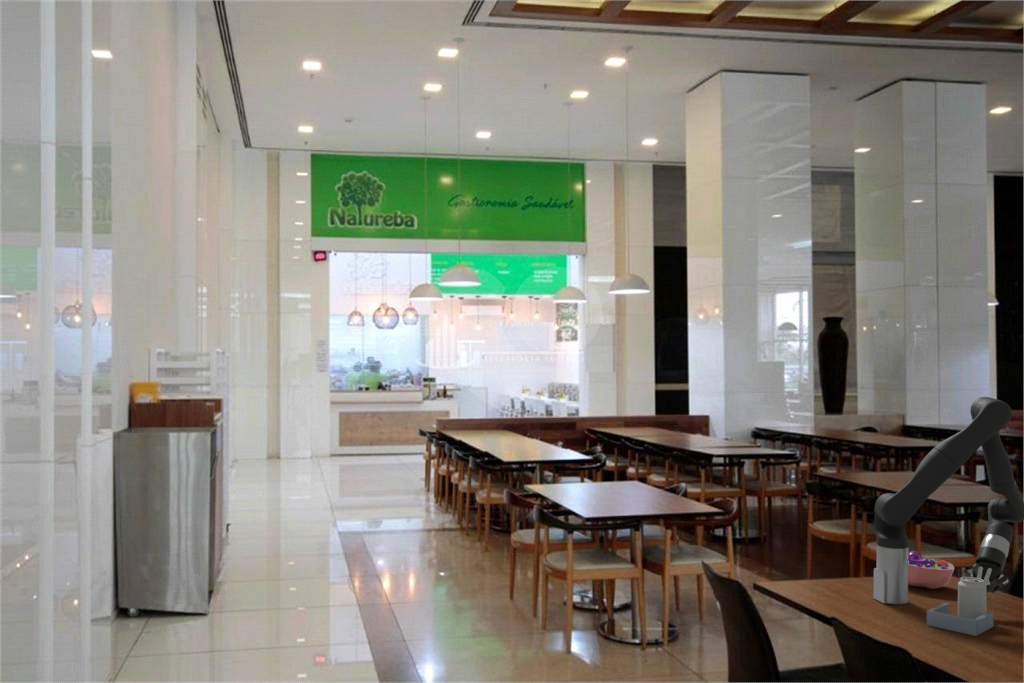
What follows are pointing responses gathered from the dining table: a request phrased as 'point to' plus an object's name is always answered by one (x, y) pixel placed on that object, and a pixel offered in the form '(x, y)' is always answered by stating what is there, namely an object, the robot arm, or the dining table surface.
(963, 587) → the can
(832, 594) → the dining table surface
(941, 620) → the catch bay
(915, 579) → the cell model
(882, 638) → the dining table surface
